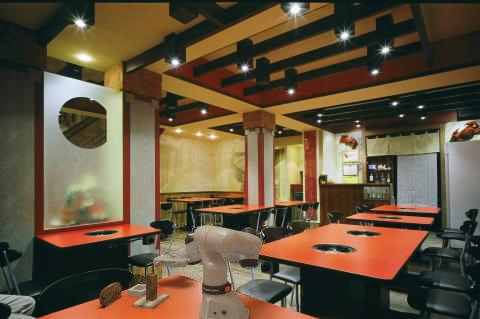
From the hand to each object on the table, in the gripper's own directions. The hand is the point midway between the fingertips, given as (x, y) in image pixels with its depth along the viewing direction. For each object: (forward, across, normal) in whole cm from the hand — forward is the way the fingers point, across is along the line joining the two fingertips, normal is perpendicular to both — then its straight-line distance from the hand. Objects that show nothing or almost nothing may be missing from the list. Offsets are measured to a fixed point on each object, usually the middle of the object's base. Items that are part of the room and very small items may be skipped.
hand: (163, 265), depth 157 cm
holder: (+6, +11, -14) cm, 19 cm away
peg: (+14, -1, -12) cm, 18 cm away
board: (+14, -1, -14) cm, 19 cm away
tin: (+19, +19, -14) cm, 30 cm away
